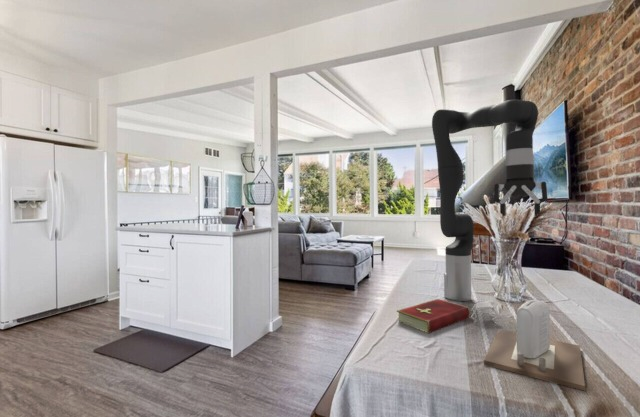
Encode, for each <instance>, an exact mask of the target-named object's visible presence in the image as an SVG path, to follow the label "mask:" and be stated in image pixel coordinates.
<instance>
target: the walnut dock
mask: <svg viewBox="0 0 640 417" xmlns="http://www.w3.org/2000/svg"><path fill="white" fill-rule="evenodd" d="M483 365H485V366H489V367H493V368H497V369H500V370H505V371H508V372H511V373H516V374H519V375H523V376H526V377H530V378H535V379H539V380H541V381H547V382H550V383H553V384H557V385H561V386H565V387H569V388H572V389H575V388H576V390H579V389H580V390H581V391H583V390H584V391H586V383H585V376H584V369H583V359H582V353H581V345H579V344H573V343H569V342H563V341H558V340H554V339H550V348H549V350H548V351H546V352H545V353H543V354H541V355H540V356H538V357H536V358H531V359H530V358H526V357H524V354H522V353H517V332H513V331H508V330H503V329H498V330H497V332H496V334H495V336H494V338H493V341H492V342H491V344H490V347H489V349H488V351H487V352H486V355H485V357H484V359H483Z"/></svg>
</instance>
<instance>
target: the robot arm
mask: <svg viewBox="0 0 640 417" xmlns="http://www.w3.org/2000/svg"><path fill="white" fill-rule="evenodd" d="M538 117H539V109H538V106H537V105H536V103H535V102H534V101H530V100H523V99H508V100H505V101H504V100H503V101H502V102H500V103H497V104H491V105H486V106H482V107H478V108H477V109H474V110H472V111H457V110H454V109H445V108H441V109H439V108H438V109H437V110H435V112H434V113H433V115H432V118H431V119H432V120H431V129H432V134H433V139H434V144H435V152H436V160H437V174H438V184H439V194H440V196H439V199H440V203H439V204H440V211H439V213H440V214H439V220H440V221H439V224H440V229H441V233H442V234H443V236H445V238H455V239H454V240H453V242H452V243H451V244H449V245H447V246H445V250H444V252H445V273H444V274H443V282H444V283H443V284H444V285H443V287H444V288H443V289H444V291H443V295H444V296H443V298H446V299H448V300H452V301H455V302H456V301H457V302H458V301H459V302H468V301H471V300H472V250H473V247H474V234H475V233H474V232H475V231H474V230H475V229H474V221H473V218H472V217H471V215H469V214H468V213H463V212H462V213H456V209H455V208H456V200H457V199H456V198H457V196H458V194H459V192H460V190H461V187H462V185H463V183H464V177H465V176H464V167H463V166H464V165H463V162H462V159H461V158H460V156H459V153H457V151H456V149H455V148H454V146H453V145H452V142H451V139H450V134H456V133H459V132H463V131H467V130H469V129H475V128H489V127H495V126H496V127H497V126H501V125H503V124H515V129H514V130H512V131H510V132H508V134H507V135H506V141H505V142H506V144H505V145H506V146H505V147H506V149H505V151H506V154H505V182H504V184H503V183H502V184H500V183H495V184H494V188H493V202H494V203H498V204H499V206H500V207H499V212H500V214H501V215H502V216H503V217H505V216H507V204H506V203H507V201H508V200H509V199H510V198H511V197H527V196H529V198H530V199H532V200H533V202H534V211H533V212H534V215H533V216H534V217H538V215H540V214H541V204H543V203H545V202H548V200H549V199H548V187H547V182H546V181H541V182H535V172H534V171H535V170H534V169H535V156H534V150H533V149H534V146H533V145H534V144H533V143H534V142H533V141H534V138H533V136H534V133H535V129H536V125H537V121H538ZM536 187H538V189H539V190H541V198H538V197H537V195H536V194H535V193H534V192H533V190H534V189H535V188H536ZM503 188H504V189H505V191H507V192H506V193H505V194H504V196H503V197H502V199H500V191H502V190H503Z"/></svg>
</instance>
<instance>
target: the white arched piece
mask: <svg viewBox="0 0 640 417" xmlns="http://www.w3.org/2000/svg"><path fill="white" fill-rule="evenodd" d="M471 310H472V314H470V318H472V319H474V321H473V323H476V322H477V321H478V319H477V318H478V316H477V314H476V312H477V310H490V311H489V312H488V314H489V315H490V316H491V317H492V318H491V320H492V321H493V322H494V323H495V324H497V322H496V321H495V320H496V319H498V318H501V316H500V315H499V314H498V312H497V311H496V310H495V307H494V306H493V305H492V303H491V301H490V300H485V301H480V302H477V303H476V302H475V303H474V305H473V307H472V308H471ZM492 312H494V314H496V316H494V315H493V314H492ZM474 315H475V317H473V316H474Z"/></svg>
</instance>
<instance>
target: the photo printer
mask: <svg viewBox="0 0 640 417" xmlns="http://www.w3.org/2000/svg"><path fill="white" fill-rule="evenodd" d="M550 311H551V310H550V307H549V305H548V303H546V302H544V301H542V300H538V299H531V300H528V301H526V302H524V303H522V305H520V306H519V307H518V309H517V310H516V333H517V353H522V354H524V357H526V358H530V359H531V358H536V357H538V356H540V355H541V354H543V353H545V352H546V351H548V350H549V348H550V340H551V337H550V335H551V334H550V332H551V331H550V330H551V329H550V328H551V326H550V322H551V321H550V319H551V318H550V315H551V314H550Z"/></svg>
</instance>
